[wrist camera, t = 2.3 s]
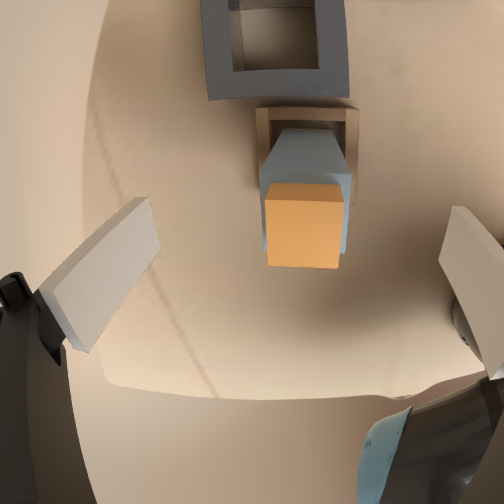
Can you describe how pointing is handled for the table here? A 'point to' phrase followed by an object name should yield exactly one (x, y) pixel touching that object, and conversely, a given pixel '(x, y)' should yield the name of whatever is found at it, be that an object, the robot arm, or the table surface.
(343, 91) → the port
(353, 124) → the brown square frame
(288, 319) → the table surface
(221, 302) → the table surface
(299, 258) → the plug
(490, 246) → the robot arm
